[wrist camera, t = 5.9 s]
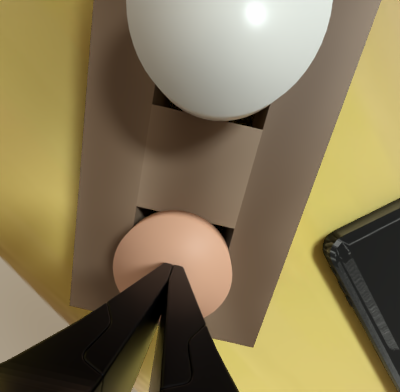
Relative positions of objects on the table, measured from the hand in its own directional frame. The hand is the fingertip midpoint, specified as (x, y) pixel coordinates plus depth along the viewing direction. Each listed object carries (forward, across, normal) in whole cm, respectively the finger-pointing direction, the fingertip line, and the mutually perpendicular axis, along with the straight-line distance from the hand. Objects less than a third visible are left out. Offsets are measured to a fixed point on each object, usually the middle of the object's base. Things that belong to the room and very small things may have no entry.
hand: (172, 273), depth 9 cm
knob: (+4, 0, 0) cm, 4 cm away
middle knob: (+2, 0, -9) cm, 9 cm away
